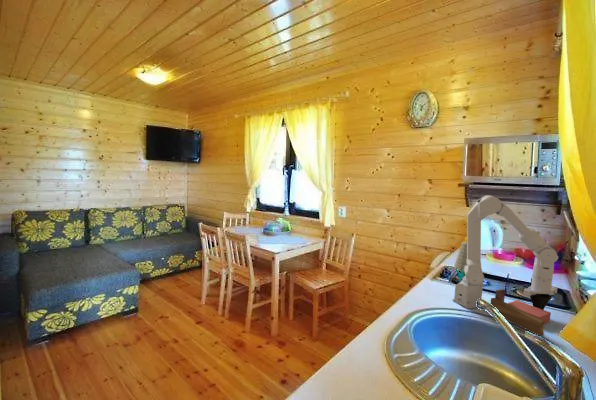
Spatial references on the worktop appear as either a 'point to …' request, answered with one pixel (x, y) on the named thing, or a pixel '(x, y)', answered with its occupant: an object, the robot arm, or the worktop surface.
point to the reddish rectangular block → (532, 310)
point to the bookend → (500, 294)
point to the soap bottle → (461, 257)
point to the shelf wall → (519, 316)
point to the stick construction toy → (459, 275)
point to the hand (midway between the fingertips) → (537, 312)
